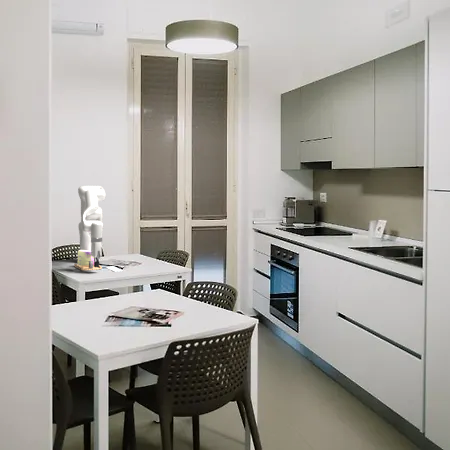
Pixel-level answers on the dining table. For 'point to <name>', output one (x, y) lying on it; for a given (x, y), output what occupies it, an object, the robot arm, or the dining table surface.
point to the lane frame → (88, 266)
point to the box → (84, 257)
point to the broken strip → (114, 269)
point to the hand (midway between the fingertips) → (96, 267)
